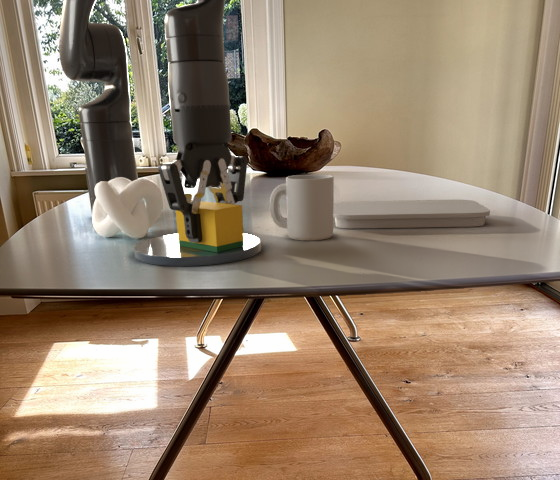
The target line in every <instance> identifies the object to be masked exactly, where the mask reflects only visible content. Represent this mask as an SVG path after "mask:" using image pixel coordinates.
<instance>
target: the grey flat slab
mask: <svg viewBox="0 0 560 480" xmlns="http://www.w3.org/2000/svg"><path fill="white" fill-rule="evenodd" d="M490 215H491V209H490V208H487V207H486V206H484V205H482V204H481V203H479V202H477V201H475V200H471V199H416V200H415V199H412V200H410V199H409V200H406V199H405V200H364V201H363V200H362V201H358V200H357V201H337V202H333V219H334V222H335V227H336V228H338V229H394V228H395V229H403V228H404V229H405V228H407V229H408V228H409V229H411V228H413V229H414V228H464V227H468V228H469V227H482V226H484V225H485V224H486V223H485V220H486V217H487V216H490Z"/></svg>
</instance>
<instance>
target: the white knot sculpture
mask: <svg viewBox="0 0 560 480" xmlns="http://www.w3.org/2000/svg"><path fill="white" fill-rule="evenodd" d="M95 196H96V199H95V202H94V206H93V212H92V211H91V222H92V227H93V229H94V230H95V232H96V234H98V235H99V236H102V237H104V238H111V237H112V238H113V237H115V236H116V235H118V234H119V233H120V232H123V233H124V234H125V235H126V236H128V237H130V238H131V239H142V238H144V237H145V236H147V234H148V232H149V229H151V228H152V227H154V225H156V223H157V222H158V221H159V220H160V218H161V215H162V214H163V210H164V197H163V193H162V190H161V188H160V187H159V186H158V185H157V184H156V183H155V182H154V181H153V180H152V179H148V178H138V179H137V180H134V181H130V180H129V179H127V178H123V177H118V178H114V179H112V180H110V181H108V182H107V181H101V182H99V183H97V184H96V186H95Z"/></svg>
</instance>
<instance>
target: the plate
mask: <svg viewBox="0 0 560 480" xmlns="http://www.w3.org/2000/svg"><path fill="white" fill-rule="evenodd" d="M243 235H244V240H243V241H244V246H243V247H239V248H234V249H230V250H226V251H222V252H218V253H217V252H211V251H206V250H200V249H194V248H189V247H183V246H179V240H178V233H173V234H166V235H161V236H156V237H151V238H148V239H145V240H142V241H140V242H138V243H136V244H135V245H134V246H133V254H134V258H135V259H136V260H137V261H139V262H141V263H145V264H150V265H154V266H155V265H156V266H166V267H200V266H212V265H220V264H226V263H227V264H228V263H232V262H238V261H242V260H245V259H249V258H252V257H255V256H256V255H258V254H259V253H260V252H261V251H262V240H261V239H260V238H259V237H257V236H255V235H252V234H248V233H243Z"/></svg>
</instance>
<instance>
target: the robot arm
mask: <svg viewBox="0 0 560 480" xmlns="http://www.w3.org/2000/svg"><path fill="white" fill-rule="evenodd" d="M96 2H97V0H63V1H62V8H61V9H62V10H61V18H60V26H59V38H58V41H59V42H58V50H59V52H58V53H59V61H60V65H61V68H62V71H63V73H64V74H65V76H66V78H68V79H69V80H71V81H74V82H82V83H104V89H103V92H102V93H101V94H100V95H99V96H97V97H96V98H95V99H93V100H91V101H89V102H87V103H84V104H82V105H80V106H79V107H78V111H77V112H78V120H79V126H80V132H81V139H82V144H83V145H82V146H83V152H84V153H83V154H84V158H85V168H84V170H85V178H86V184H87V191H88V198H89V203H90V210H91V211H90V212H91V213H92V212H93V206H94V202H95V199H96V196H95V186H96V184H97V183H99V182H101V181H107V182H108V181H110V180H112V179H114V178H118V177H123V178H127V179H129V180H130V181H134V180H137V179H139V177H138V175H139V174H138V169H137V168H138V167H137V160H136V159H137V158H136V152H135V142H134V134H133V125H132V118H131V117H132V116H131V95H130V83H129V72H128V71H129V69H128V67H129V66H128V55H127V46H126V43H125V39H124V36H123V33H122V31H121V29H120V28H119V27H118V26H117V25H115V24H112V23H99V22H98V23H97V22H90V18H91V16H92V12H93V9H94V6H95V4H96ZM225 3H226V0H197V1H195V2H194V3H190V4H185V5H180V6H177V7H174V8H171V9H170V10H168V11H167V12H166V14H165V16H164V35H165V36H164V37H165V47H166V57H167V63H168V65H167V67H168V69H167V70H168V73H167V74H168V75H167V81H168V82H167V89H168V97H169V106H170V109H169V110H170V118H171V127H172V139H173V142H174V144H175V145H176V147H177V150H176V151H177V152H176V156H175V159H174V160H172V161H170V162H162V163H159V164H158V166H157V171H158V173H159V177H160V180H161V183H162V187H163V191H164V194H165V197H166V200H167V205H168V207H169V209H170V210H172V211H175V210H177V211H180V212H182V213H183V215H184V225H185V235H186V237H187V238H188V240H189V241H190V242H195V243H198V242H201V241H202V230H201V218H200V214H197V213H198V212H199V208H200V202H201V201H202V198H203V197H204V196H205V193H206V188H208V190H209V191H210V192H211V193H212V195H213V197H214V200H215V203H225V204H234V205H237V203H238V202H243V200H244V198H245V189H246V188H245V187H246V178H247V169H248V158H247V157H246V156H240V155H239V156H235V155H232V152H231V151H230V147H229V143H230V142H231V141H232V120H231V108H230V107H231V105H230V87H229V79H228V73H227V69H226V60H225V59H226V58H225V57H226V56H225V44H224V15H225V5H226V4H225ZM181 178H182V179H181Z"/></svg>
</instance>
